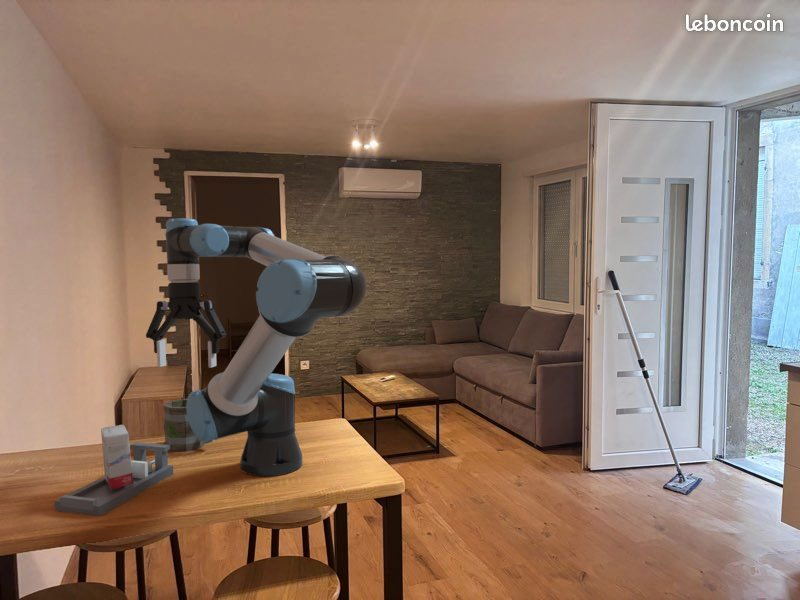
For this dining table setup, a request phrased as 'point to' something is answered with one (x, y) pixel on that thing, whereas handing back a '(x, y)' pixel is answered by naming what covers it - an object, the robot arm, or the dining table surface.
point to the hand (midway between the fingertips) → (187, 366)
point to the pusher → (141, 468)
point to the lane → (103, 499)
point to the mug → (179, 428)
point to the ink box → (116, 456)
